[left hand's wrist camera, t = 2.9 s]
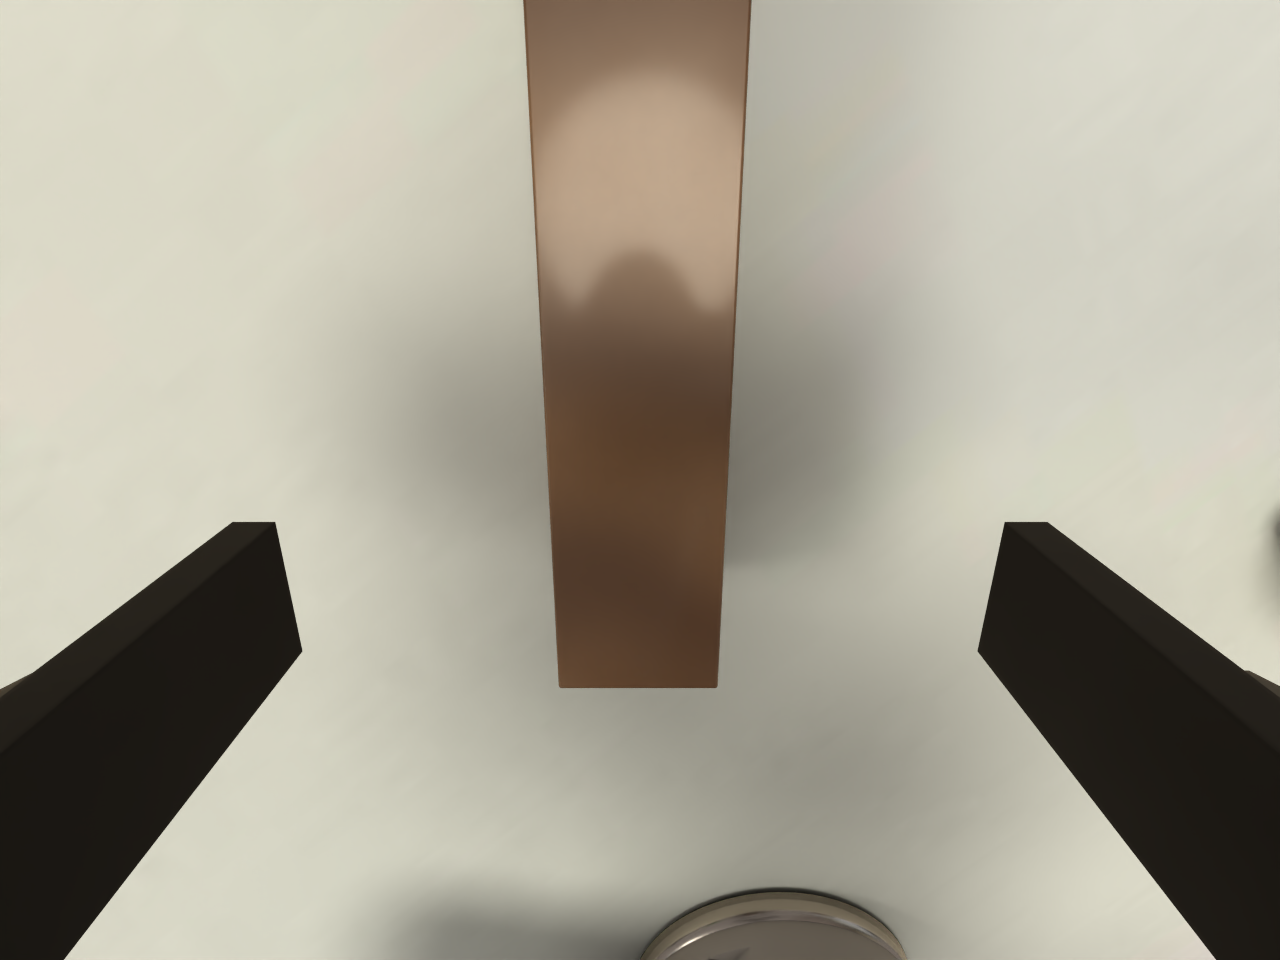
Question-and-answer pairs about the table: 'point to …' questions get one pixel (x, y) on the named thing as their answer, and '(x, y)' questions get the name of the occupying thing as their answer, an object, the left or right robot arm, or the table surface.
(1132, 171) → the table surface
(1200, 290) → the table surface
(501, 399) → the table surface
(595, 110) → the bar
